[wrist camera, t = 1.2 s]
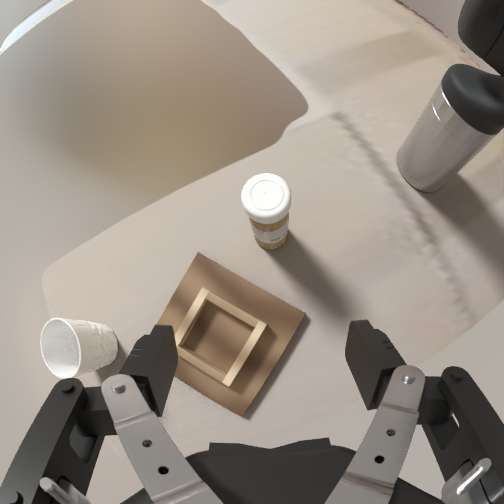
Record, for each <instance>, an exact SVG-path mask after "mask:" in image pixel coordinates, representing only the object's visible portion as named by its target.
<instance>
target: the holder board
mask: <svg viewBox="0 0 504 504" xmlns="http://www.w3.org/2000/svg"><path fill="white" fill-rule="evenodd" d="M304 315H305V312H303V311H301V310H299V309H297V308H295V307H294V306H292V305H290V304H288V303H286V302H285V301H283V300H281V299H279V298H277V297H276V296H274V295H272V294H270V293H268V292H267V291H265V290H263V289H261V288H260V287H258V286H256V285H254V284H252V283H251V282H249V281H247V280H245V279H244V278H242V277H240V276H238V275H237V274H235V273H233V272H231V271H230V270H228V269H226V268H224V267H223V266H221V265H219V264H218V263H216V262H214V261H212V260H211V259H209V258H207V257H205V256H204V255H202V254H200V253H199V252H198V253H197V255H196V257H195V258H194V260H193V262H192V263H191V265H190V267H189V268H188V270H187V272H186V274H185V275H184V277H183V279H182V281H181V282H180V284H179V286H178V287H177V289H176V291H175V293H174V295H173V296H172V298H171V300H170V302H169V303H168V305H167V307H166V309H165V311H164V312H163V314H162V316H161V318H160V320H159V321H158V323H157V325H171V326H172V327H173V330H174V336H175V341H176V346H177V351H178V365H177V368H176V371H175V374H174V375H175V376H176V377H178V378H179V379H181V380H182V381H184V382H185V383H187V384H188V385H190V386H191V387H193V388H194V389H196V390H198V391H199V392H201V393H202V394H204V395H206V396H207V397H209V398H210V399H212V400H214V401H215V402H217V403H219V404H221V405H222V406H224V407H226V408H228V409H229V410H231V411H233V412H235V413H236V414H238V415H240V416H243V414H244V413H245V411H246V410H247V408H248V407H249V405H250V404H251V402H252V401H253V399H254V398H255V396H256V395H257V393H258V392H259V390H260V388H261V387H262V385H263V384H264V382H265V381H266V379H267V377H268V376H269V374H270V373H271V371H272V369H273V368H274V366H275V365H276V363H277V361H278V360H279V358H280V356H281V355H282V353H283V351H284V350H285V348H286V346H287V345H288V343H289V341H290V340H291V338H292V336H293V334H294V333H295V331H296V329H297V328H298V326H299V324H300V322H301V321H302V319H303V317H304Z"/></svg>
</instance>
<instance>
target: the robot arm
mask: <svg viewBox="0 0 504 504" xmlns="http://www.w3.org/2000/svg"><path fill="white" fill-rule="evenodd" d="M458 34H459V37H460V39H461V40H462V42H463V43H464V44H465V45H466V46H467V47H468V48H469V49H470V50H472V51H473V52H474V53H475V54H476V55H478V56H479V57H480V58H481V59H483V60H484V61H485V62H486V63H487V64H489V65H490V66H491V67H492V68H494V69H495V70H496V71H497V72H498V73H499V74H500V75H501V76H499V75H493V74H490V73H487V72H484V71H482V70H479V69H477V68H475V67H472V66H469V65H465V64H455V65H452V66H451V67H450V68H449V69H448V70H447V72H446V73H445V75H444V77H443V79H442V80H441V82H440V84H439V86H438V87H437V89H436V91H435V93H434V95H433V96H432V98H431V100H430V101H429V103H428V105H427V106H426V108H425V110H424V111H423V113H422V115H421V116H420V118H419V119H418V121H417V123H416V124H415V126H414V127H413V129H412V131H411V132H410V134H409V135H408V137H407V138H406V140H405V141H404V143H403V144H402V146H401V148H400V149H399V151H398V154H397V164H398V167H399V170H400V172H401V174H402V175H403V177H404V178H405V180H406V181H407V182H408V183H409V184H410V185H412V186H413V187H414V188H416V189H418V190H420V191H423V192H435V191H437V190H438V189H440V188H441V187H442V186H443V185H444V184H445V183H446V182H447V181H449V180H450V179H451V178H452V177H453V176H454V175H455V174H456V173H458V172H459V171H460V170H461V169H462V168H463V167H464V166H465V165H466V164H467V163H468V162H469V161H470V160H472V159H473V158H474V157H475V156H476V155H477V154H478V153H479V152H480V151H481V150H482V149H483V148H484V147H485V146H486V145H487V144H488V143H489V142H490V141H491V140H492V139H493V138H494V137H495V136H496V135H497V134H498V133H499V132H500V131H501V130H502V129H503V128H504V0H465V3H464V5H463V7H462V10H461V13H460V17H459V21H458ZM345 357H346V361H347V363H348V366H349V368H350V370H351V373H352V375H353V377H354V379H355V382H356V384H357V386H358V389H359V391H360V394H361V396H362V398H363V401H364V403H365V405H366V408H367V410H372V409H377V412H376V414H375V416H374V419H373V421H372V423H371V425H370V427H369V429H368V431H367V433H366V435H365V437H364V439H363V441H362V443H361V445H360V446H359V448H358V450H357V452H356V451H354V450H351V449H349V448H345V447H341V446H336V445H331V444H330V441H329V438H322V439H313V440H304V441H298V442H295V443H291V444H288V445H284V446H280V447H277V448H273V449H266V448H260V447H254V446H249V445H244V444H239V443H210V445H209V450H208V451H203V452H198V453H195V454H192V455H190V456H188V457H186V458H184V456H183V455H182V453H181V452H180V451H179V449H178V448H177V446H176V445H175V443H174V442H173V441H172V439H171V438H170V436H169V435H168V433H167V432H166V430H165V428H164V427H163V425H162V424H161V422H160V421H159V419H158V417H162V413H163V410H164V407H165V403H166V400H167V397H168V394H169V390H170V387H171V384H172V381H173V378H174V374H175V371H176V368H177V365H178V351H177V346H176V341H175V336H174V330H173V327H172V326H171V325H155V326H154V328H153V330H152V332H151V334H150V335H144V336H142V337H141V338H140V339H139V340H137V342H136V344H135V345H134V347H133V349H132V351H131V353H130V355H129V356H128V358H127V360H126V362H125V363H124V365H123V367H122V369H121V371H120V373H119V374H117V375H113V376H110V377H109V378H107V379H106V380H105V381H104V382H103V383H102V386H99V387H86V388H84V386H83V384H82V382H81V381H80V380H78V379H76V378H65V379H63V380H61V381H59V382H58V383H57V384H56V385H55V386H54V388H53V389H52V391H51V393H50V394H49V396H48V397H47V399H46V401H45V402H44V404H43V406H42V407H41V409H40V411H39V413H38V414H37V416H36V418H35V420H34V421H33V423H32V425H31V427H30V428H29V430H28V432H27V434H26V436H25V438H24V440H23V441H22V443H21V445H20V447H19V449H18V451H17V453H16V455H15V457H14V459H13V461H12V463H11V465H10V468H9V469H8V472H7V474H6V476H5V478H4V480H3V483H2V485H1V487H0V504H91V503H90V501H89V500H88V499H87V498H86V493H87V490H88V486H89V483H90V480H91V477H92V474H93V470H94V467H95V464H96V461H97V458H98V455H99V452H100V449H101V446H102V443H103V440H104V437H105V436H106V435H118V436H119V439H120V441H121V443H122V445H123V447H124V449H125V452H126V454H127V456H128V458H129V460H130V462H131V464H132V465H133V467H134V469H135V471H136V473H137V475H138V477H139V479H140V480H141V482H142V484H143V486H144V488H143V489H141V490H140V491H138V492H137V493H136V494H134V495H133V496H131V497H130V498H128V499H127V500H125V501H123V502H122V503H120V504H504V424H503V423H502V421H501V419H500V418H499V416H498V415H497V413H496V412H495V410H494V409H493V407H492V406H491V404H490V403H489V401H488V400H487V399H486V397H485V396H484V394H483V393H482V391H481V390H480V389H479V387H478V386H477V384H476V383H475V382H474V380H473V379H472V377H471V376H470V375H469V373H468V372H467V371H465V370H464V369H462V368H460V367H455V366H451V367H447V368H446V369H444V371H443V373H442V375H441V377H427V376H425V375H424V373H423V372H422V371H421V370H420V369H419V368H417V367H414V366H410V365H407V364H406V363H405V361H404V360H403V358H402V357H401V356H400V354H399V353H398V351H397V350H396V348H394V345H393V344H392V342H391V341H390V340H389V338H388V337H387V335H386V334H385V333H383V332H382V331H380V330H379V329H374V328H373V327H372V325H371V324H370V323H369V321H368V320H357V321H351V322H350V326H349V331H348V337H347V342H346V348H345ZM453 413H454V415H455V417H456V418H457V420H458V423H459V427H458V425H457V424H456V422H455V420H454V418H453V416H452V414H453ZM417 424H420V425H422V427H423V430H424V432H425V434H426V436H427V438H428V441H429V443H430V445H431V448H432V450H433V452H434V455H435V457H436V460H437V462H438V464H439V467H440V470H441V472H442V475H443V477H444V480H445V482H446V483H445V484H444V486H443V488H442V498H441V500H440V499H438V498H436V497H434V496H432V495H430V494H428V493H426V492H424V491H422V490H421V489H419V488H417V487H415V486H413V485H411V484H410V483H408V482H406V481H404V480H402V479H401V478H399V477H398V475H399V473H400V470H401V467H402V465H403V462H404V460H405V457H406V454H407V452H408V449H409V446H410V443H411V440H412V437H413V434H414V430H415V427H416V425H417Z"/></svg>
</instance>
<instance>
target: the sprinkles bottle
mask: <svg viewBox="0 0 504 504" xmlns="http://www.w3.org/2000/svg"><path fill="white" fill-rule="evenodd" d="M241 198H242V204H243V207H244V210H245V212H246V214H247V215H248V217H249V220H250V223H251V226H252V230H253V233H254V237H255V240H256V242H257V243H258V244H259V245H260V246H261V247H263V248H265V249H276V248H278V247H280V246H282V245H283V244H284V242H285V241H286V238H287V235H288V222H289V213H288V211H289V209H290V205H291V191H290V188H289V186H288V184H287V183H286V182H285V181H284V180H283V179H282V178H280V177H279V176H277V175H274V174H268V173H265V174H259V175H256V176H254V177H252V178H251V179H250V180H249V181H248V182H247V183H246V184H245V186H244V188H243V190H242V195H241Z"/></svg>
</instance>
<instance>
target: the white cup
mask: <svg viewBox="0 0 504 504" xmlns="http://www.w3.org/2000/svg"><path fill="white" fill-rule="evenodd" d="M40 345H41V352H42V356H43V359H44V361H45V364H46V365H47V367H48V368H49V370H50V371H51V372H52V373H53V374H54V375H55V376H57V377H58V378H61V379H65V378H74V377H77V376H80V375H83V374H86V373H89V372H92V371H95V370H97V369H99V368H101V367H104V366H107V365H110V364H111V363H112V362H113V361H114V360H115V359H116V356H117V352H118V345H117V339H116V337H115V335H114V333H113V331H112V330H111V329H110V328H109V327H108V326H107V325H105V324H101V323H95V322H90V321H82V320H72V319H62V318H53V319H51V320H49V321H48V322H47V323H46V324H45V326H44V328H43V330H42V333H41V340H40Z"/></svg>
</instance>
